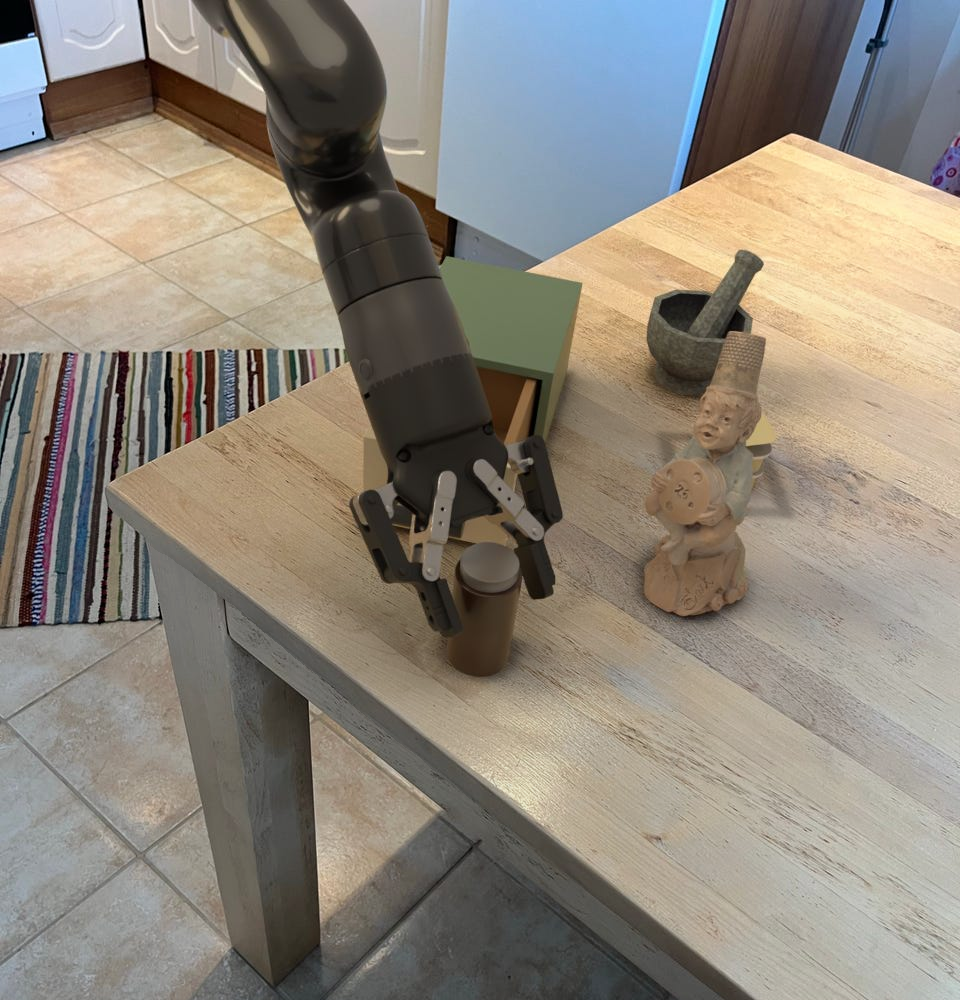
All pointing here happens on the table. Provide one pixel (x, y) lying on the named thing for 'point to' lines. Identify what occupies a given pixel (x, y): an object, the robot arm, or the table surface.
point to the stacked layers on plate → (760, 445)
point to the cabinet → (517, 325)
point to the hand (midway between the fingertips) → (498, 615)
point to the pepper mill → (485, 608)
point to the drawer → (510, 423)
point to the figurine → (708, 491)
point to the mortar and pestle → (698, 327)
